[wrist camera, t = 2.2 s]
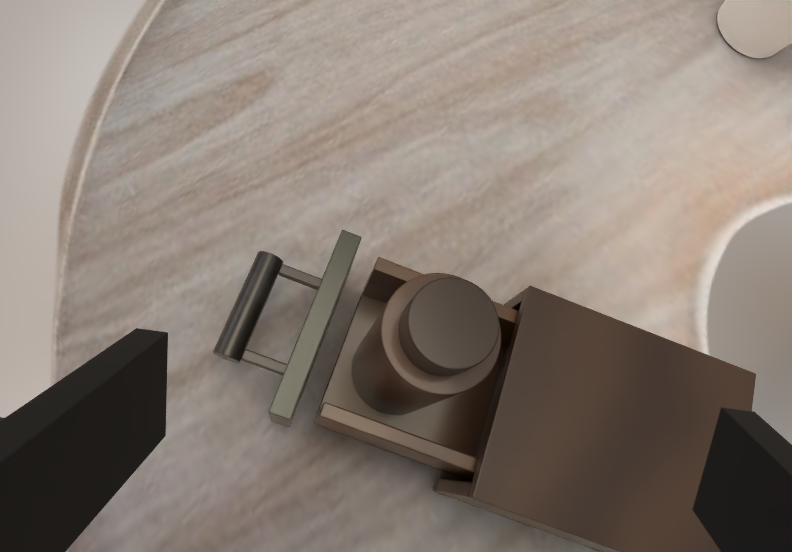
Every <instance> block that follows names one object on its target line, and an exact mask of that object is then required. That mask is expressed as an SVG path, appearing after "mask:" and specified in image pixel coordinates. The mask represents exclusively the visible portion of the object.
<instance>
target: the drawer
mask: <svg viewBox="0 0 792 552" xmlns="http://www.w3.org/2000/svg"><path fill="white" fill-rule="evenodd" d="M360 241H361V237H360V236H357V235H355V234H352V233H350V232H347V231H345V230H342V231H341V234H340V236H339V239H338V241H337V244H336V246H335V249H334V251H333V254H332V256H331V259H330V261H329V263H328V266H327V268H326V271H325V273H324V276H323V278H322V279H320V278H318V277H315V276H312V275H310V274H307V273H304V272H302V271H299V270H297V269H294V268H291V267H289V266H286V265H283V261H282V260H281V259H280V258H279V257H277V256H275V255H273V254H271V253H268V252H264V251H260V252H258V254H257V256H256V258H255V260H254V263H253V265H252V267H251V269H250V271H249V274H248V276H247V278H246V280H245V283H244V285H243V287H242V289H241V291H240V294H239V296H238V298H237V300H236V302H235V305H234V307H233V309H232V311H231V313H230V316H229V318H228V320H227V322H226V324H225V327H224V329H223V331H222V333H221V335H220V338H219V340H218V342H217V344H216V346H215V349H214V351H213V353H214V354H215V355H217V356H219V357H221V358H224V359H226V360H229V361H232V362H236V363H240V361H241V359H242V360H243V361H245V362H248V363H251V364H253V365H256V366H259V367H262V368H264V369H267V370H270V371H272V372H275V373H278V374H281V375H283V377H282V380H281V382H280V384H279V387H278V389H277V392H276V394H275V397H274V399H273V402H272V404H271V407H270V409H269V415H270V418H271V421H273V422H276V423H278V424H281V425H284V426H287V427H289V426H290V424H291V421H292V419H293V416H294V413H295V411H296V408H297V406H298V403H299V401H300V398H301V395H302V393H303V390H304V388H305V385H306V383H307V380H308V377H309V375H310V372H311V370H312V367H313V365H314V362H315V359H316V357H317V354H318V352H319V349H320V347H321V344H322V342H323V339H324V336H325V334H326V331H327V329H328V326H329V324H330V321H331V318H332V316H333V313H334V311H335V308H336V306H337V303H338V300H339V298H340V295H341V293H342V290H343V288H344V285H345V282H346V280H347V277H348V275H349V272H350V269H351V266H352V263H353V261H354V258H355V255H356V252H357V249H358V246H359V243H360ZM278 273H279V275H280V276H282V277H285V278H287V279H290V280H293V281H295V282H298V283H301V284H303V285H306V286H309V287H311V288H314V289H316V290H318V291H317V293H316V296H315V298H314V300H313V303H312V305H311V308H310V310H309V313H308V315H307V318H306V320H305V323H304V325H303V328H302V330H301V333H300V335H299V338H298V340H297V342H296V345H295V347H294V350H293V352H292V355H291V357H290V360H289V362H288V365H287V364H284V363H282V362H279V361H276V360H274V359H271V358H268V357H266V356H263V355H260V354H257V353H255V352H252V351H249V350H247V349H246V347H247V345H248V343H249V340H250V338H251V336H252V333H253V331H254V329H255V326H256V324H257V322H258V319H259V317H260V315H261V313H262V310H263V308H264V306H265V303H266V301H267V299H268V296H269V294H270V292H271V290H272V287H273V285H274V283H275V280H276V278H277V276H278ZM421 275H424V274H421V273H419V272H416V271H413V270H411V269H408V268H406V267H403V266H400V265H398V264H395V263H393V262H390V261H387V260H385V259H382V258H380V257H378V259H377V261H376V263H375V265H374V268H373V270H372V272H371V274H370V276H369V278H368V280H367V283H366V285H365V287H364V289H363V292H362V295H361V297H360V300H359V303H358V305H357V308H356V311H355V313H354V316H353V319H352V321H351V324H350V327H349V329H348V332H347V335H346V337H345V340H344V343H343V345H342V348H341V351H340V353H339V356H338V359H337V361H336V364H335V367H334V369H333V372H332V375H331V377H330V380H329V383H328V385H327V388H326V390H325V393H324V396H323V398H322V401H321V404H320V406H319V409H318V412H317V414H316V417H315V420H314V422H313V423H314V424H316V425H319V426H322V427H325V428H327V429H330V430H333V431H336V432H338V433H341V434H344V435H347V436H349V437H352V438H355V439H358V440H360V441H363V442H366V443H369V444H371V445H374V446H377V447H380V448H382V449H385V450H388V451H391V452H393V453H396V454H399V455H402V456H404V457H407V458H410V459H413V460H415V461H418V462H421V463H424V464H426V465H429V466H432V467H434V468H437V469H440V470H443V471H445V472H448V473H451V474H454V475H456V476H459V477H462V478H465V479H467V480H470V481H473V477H474V474H475V470H476V466H477V463H478V459H479V455H480V452H481V448H482V444H483V441H484V437H485V434H486V430H487V426H488V423H489V419H490V415H491V412H492V408H493V404H494V401H495V397H496V393H497V390H498V386H499V382H500V379H501V375H502V371H503V368H504V364H505V361H506V357H507V353H508V350H509V346H510V342H511V339H512V335H513V331H514V328H515V324H516V320H517V317H518V313H519V311H517V310H514V309H512V308H509V307H507V306H504V305H501V304H499V303H496V302H494V301H492V302H493V304H494V306H495V308H496V311H497V314H498V319H499V323H500V329H501V347H500V352H499V356H498V358H497V361H496V363H495V365H494V367H493V369H492V370H491V372H490V373H489V375H488V376H487V377H486V378H485V379H484V380H483V381H482V382H481V383H479V384H478V385H477V386H475V387H473V388H472V389H470V390H468V391H465V392H463V393H460V394H457V395H455V396H452V397H450V398H447V399H444V400H442V401H439V402H437V403H434V404H431V405H429V406H426V407H424V408H421V409H418V410H416V411H413V412H411V413H407V414H403V415H389V414H385V413H381V412H379V411H377V410H375V409H373V408H372V407H370V406H369V405H368V404H366V403H365V402H364V400H363V399H362V398H361V397H360V395H359V394H358V392H357V390H356V388H355V386H354V383H353V378H352V362H353V358H354V355H355V352H356V350H357V348H358V347H359V345H360V344H361V342H362V340H363V339H364V337H365V336H366V334H367V333H368V331H369V330H370V328H371V327H372V325H373V324H374V322H375V321H376V319H377V318H378V316H379V314H380V313H381V311H382V310H383V308H384V307H385V305H386V304H387V302H388V301H389V299H390V298H391V296H392V295H393V294H394V293H395V291H396V290H397V289H398V288H399V287H401V286H402V285H403V284H404V283H406V282H407V281H409V280H411V279H413V278H415V277H418V276H421Z"/></svg>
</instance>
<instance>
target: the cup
mask: <svg viewBox="0 0 792 552" xmlns="http://www.w3.org/2000/svg"><path fill="white" fill-rule="evenodd" d="M717 23H718V27H719V30H720V32H721V34H722V36H723V37H724V39H725V40H726V41H727V42H728V44H729V45H730V46H732V47H733V48H734V49H735V50H737V51H738V52H740V53H742V54H744V55H746V56H749V57H753V58H767V57H770V56H772V55H774V54H775V53H777V52H778V51H780V50H782V49H783V48H785V47H786V46H788V45H790V44H791V43H792V0H725V1H724V3H723V4H722V5H721V7H720V8H719V11H718V14H717Z"/></svg>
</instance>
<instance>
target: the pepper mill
mask: <svg viewBox="0 0 792 552" xmlns="http://www.w3.org/2000/svg"><path fill="white" fill-rule="evenodd" d="M500 347H501V329H500V323H499V319H498V314H497V311H496V308H495V306H494V304H493V302H492V301H491V299H490V298H489V297H488V295H487V294H486V293H485V292H484V291H483V290H482V289H481V288H479V287H478V286H477V285H475V284H473V283H472V282H469V281H467V280H464V279H462V278H460V277H457V276H454V275H450V274H444V273H431V274H425V275H421V276H418V277H415V278H413V279H411V280H409V281H407V282H406V283H404V284H403V285H402V286H401V287H399V288H398V289H397V290H396V291H395V293H394V294H393V295H392V296H391V298H390V299H389V301H388V302H387V304H386V305H385V307H384V308H383V310H382V311H381V313H380V314H379V316H378V318H377V319H376V321H375V322H374V324H373V325H372V327H371V328H370V330H369V331H368V333H367V334H366V336H365V337H364V339H363V340H362V342H361V344H360V345H359V347H358V348H357V350H356V352H355V355H354V358H353V362H352V378H353V383H354V386H355V388H356V390H357V392H358V394H359V395H360V397H361V398H362V399H363V400H364V402H365V403H366V404H368V405H369V406H370V407H372V408H373V409H375V410H377V411H379V412H381V413H385V414H389V415H403V414H407V413H411V412H413V411H416V410H418V409H421V408H424V407H426V406H429V405H431V404H434V403H437V402H439V401H442V400H444V399H447V398H450V397H452V396H455V395H457V394H460V393H463V392H465V391H468V390H470V389H472V388H473V387H475V386H477V385H478V384H479V383H481V382H482V381H483V380H484V379H485V378H486V377H487V376H488V375H489V373H490V372H491V370H492V369H493V367H494V365H495V363H496V361H497V358H498V356H499V352H500Z"/></svg>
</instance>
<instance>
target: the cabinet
mask: <svg viewBox="0 0 792 552" xmlns="http://www.w3.org/2000/svg"><path fill="white" fill-rule="evenodd" d="M504 306H507V307H509V308H512V309H514V310H517V311H519V313H518V317H517V320H516V324H515V328H514V331H513V335H512V339H511V342H510V346H509V350H508V353H507V357H506V361H505V364H504V368H503V371H502V375H501V379H500V382H499V386H498V390H497V393H496V397H495V401H494V404H493V408H492V412H491V415H490V419H489V423H488V426H487V430H486V434H485V437H484V441H483V444H482V448H481V452H480V455H479V459H478V463H477V466H476V470H475V474H474V477H473V481H470V480H467V479H465V478H462V477H459V476H456V475H454V474H451V473H448V472H445V471H443V470H440V469H439V470H438V474H437V477H436V481H435V484H434V487H433V491H435V492H438V493H441V494H443V495H446V496H449V497H452V498H455V499H457V500H460V501H463V502H466V503H468V504H471V505H474V506H477V507H479V508H482V509H485V510H488V511H490V512H493V513H496V514H499V515H502V516H504V517H507V518H510V519H513V520H515V521H518V522H521V523H524V524H526V525H529V526H532V527H535V528H538V529H540V530H543V531H546V532H549V533H551V534H554V535H557V536H560V537H562V538H565V539H568V540H571V541H573V542H576V543H579V544H582V545H585V546H587V547H590V548H593V549H596V550H598V551H601V552H721V551H720V550H719V548H718V547H717V545H716V544H715V542H714V541H713V539H712V538H711V537H710V535H709V534H708V532H707V531H706V529H705V528H704V526H703V525H702V523H701V522H700V520H699V519H698V517H697V516H696V514H695V513H694V511H693V510H692V509H693V506H694V502H695V499H696V495H697V491H698V488H699V484H700V481H701V477H702V474H703V470H704V467H705V463H706V459H707V456H708V452H709V449H710V445H711V442H712V438H713V435H714V431H715V427H716V424H717V420H718V417H719V413H720V410H721V407H722V408H730V409H737V410H745V411H752V403H753V394H754V386H755V378H756V374H755V373H752V372H750V371H747V370H745V369H742V368H740V367H737V366H734V365H732V364H729V363H727V362H724V361H722V360H719V359H717V358H714V357H711V356H709V355H706V354H704V353H701V352H699V351H696V350H693V349H691V348H688V347H686V346H683V345H681V344H678V343H675V342H673V341H670V340H668V339H665V338H663V337H660V336H658V335H655V334H652V333H650V332H647V331H645V330H642V329H640V328H637V327H634V326H632V325H629V324H627V323H624V322H622V321H619V320H616V319H614V318H611V317H609V316H606V315H604V314H601V313H599V312H596V311H593V310H591V309H588V308H586V307H583V306H581V305H578V304H575V303H573V302H570V301H568V300H565V299H563V298H560V297H558V296H555V295H552V294H550V293H547V292H545V291H542V290H540V289H537V288H534V287H532V286H529V287H528V288H526V289H525V290H524V291H522V292H521V293H519V294H518V295H517V296H515V297H514V298H512V299H511V300H510V301H508V302H507V303H505V304H504Z"/></svg>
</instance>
